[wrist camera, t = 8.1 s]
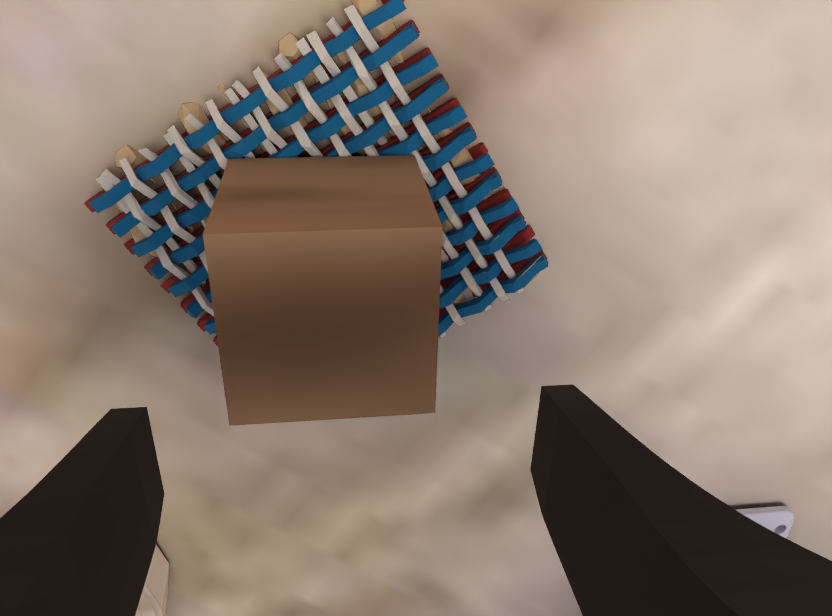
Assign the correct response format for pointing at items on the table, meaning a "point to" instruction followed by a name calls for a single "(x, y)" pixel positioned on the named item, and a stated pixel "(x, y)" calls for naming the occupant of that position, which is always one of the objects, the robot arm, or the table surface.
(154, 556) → the white cup
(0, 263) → the table surface
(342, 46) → the woven mat
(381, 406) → the cube
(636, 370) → the table surface
